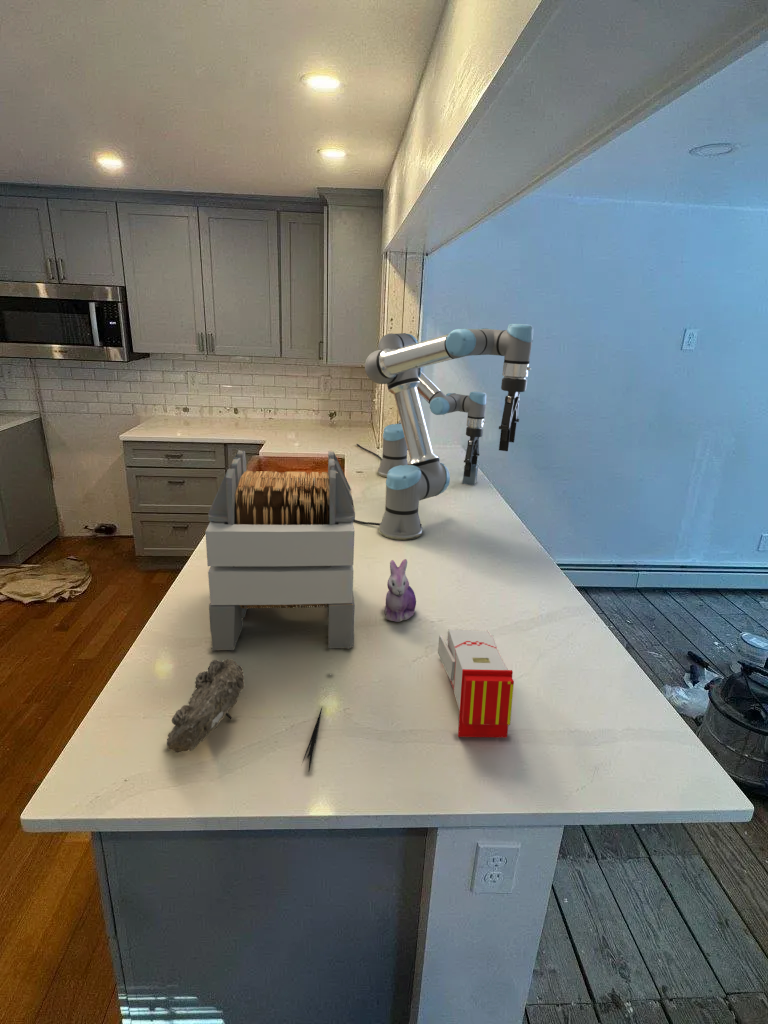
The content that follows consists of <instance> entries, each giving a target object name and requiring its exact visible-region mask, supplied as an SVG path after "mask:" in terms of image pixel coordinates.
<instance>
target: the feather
mask: <svg viewBox="0 0 768 1024" xmlns="http://www.w3.org/2000/svg"><path fill="white" fill-rule="evenodd" d="M329 675H330V676H331V675H332V674H331V673H330V674H329ZM322 710H323V707H321V708H320V710H319V713H318V716H317V719H316V723H315V725H314V728H313V731H312V733H311V737H310V739H309V742H308V745H307V748H306V751H305V754H304V757H303V760H302V763H301V767H302V765H303V763H304V761H305V758H308V759H309V760H308V762H307V763H308V764H307V766H308V771H310V770H311V766H312V765H311V764H312V760H313V757H315V756H314V755H315V751H316V749H315V746H317V739H318V733H319V729H320V722H321V717H322V712H323V711H322ZM313 754H314V755H313ZM306 755H307V757H306Z"/></svg>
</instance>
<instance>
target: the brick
mask: <svg viewBox="0 0 768 1024" xmlns="http://www.w3.org/2000/svg"><path fill="white" fill-rule="evenodd" d="M464 471H465V465H463V472H464ZM478 474H479V464H477V465H476V464H472V465H471V474H470V477H466V476H464V473H463V474H462V475H463V476H462V485H469V486H475V485H477V482H478V480H477V479H478Z"/></svg>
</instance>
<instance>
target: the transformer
mask: <svg viewBox="0 0 768 1024" xmlns="http://www.w3.org/2000/svg"><path fill="white" fill-rule="evenodd" d="M327 456H328V457H327V462H328V463H327V471H322V472H321V473H320V472H319V471H311V472H307V471H284V472H283V471H281V472H278V471H271V470H269V471H267V470H265V471H262V470H261V471H259V470H258V471H257V470H256V471H253V470H247V458H246V450H240V449H238V450H237V452H236V454H235V456H234V457H233V459H232V462H231V464H230V466H229V468H227V470H226V472H225V474H224V477H223V479H222V480H221V483H220V486H219V487H218V490H217V491H216V495H215V496H214V499H213V501H212V503H211V504H210V505H211V506H210V508H209V510H208V513H207V517H208V522H209V523H208V525H207V527H206V529H205V533H204V534H205V548H206V558H207V559H206V563H207V567H209V569H208V571H207V574H208V575H207V577H208V589H209V604H208V615H209V630H210V634H211V647H210V649H211V651H212V652H214V651H215V652H218V651H234V649H235V647H236V645H237V643H238V641H239V638H240V635H241V633H242V630H243V619H245V618H246V614H247V609H249V610H250V609H273V608H274V609H276V608H277V609H280V608H281V609H293V608H294V609H296V608H298V609H302V608H309V609H310V608H315V609H316V608H327V637H328V638H327V639H328V640H327V641H328V649H349V650H350V649H352V648H353V647H354V646H355V645H354V643H355V607H356V606H355V597H354V559H355V558H354V555H355V526H354V525H355V524H354V522H353V521H354V520H356V511H355V505H354V499H353V493H352V487H351V486H350V484H349V481H348V479H347V477H346V475H345V473H344V471H343V469H342V467H341V464H340V462H339V459H338V458H337V455H336V453H335V452H334V451H330V450H329V451H327Z"/></svg>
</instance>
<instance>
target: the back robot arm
mask: <svg viewBox="0 0 768 1024" xmlns="http://www.w3.org/2000/svg"><path fill="white" fill-rule="evenodd" d="M416 343H419V341H418V339H417V338H416V337H415V336H414V335H413V334H411V333H406V332H402V333H386V334H384V335H383V336H382V337H381V339H379V342H378V344H377V345H378V346H377V350H383V349H387V348H388V349H392V350H393V349H398V348H402V347H405V346H409V345H412V344H416ZM419 381H420V384H419V385H418V387H417V391H418V395H419V396H421V397H422V398H423V399H424V400H425V401H426V402H427V403H428V404H429V409H430V411H431V413H432V414H433V415H436V416H444V415H447V414H451V413H455V412H460V413H467V417H466V428H465V435H466V436H467V437H469V439H468V440H467V445H466V450H465V451H466V452H465V457H464V459H463V463H464V466H465V471H464V470H463V474H464V476H466V477H470V474H471V465H472V464H476V465H478V457H479V456H480V454H481V453H480V438H482V437H483V435H484V425H485V424H486V420H485V415H486V406H487V393H486V392H483V391H470V392H469V395H466V394H461V393H460V394H459V393H455V392H448V393H446V394H444V392H443V391H442V390H441V389H439V387H438V386H437V385H436V384H435V383H434V382H433V381H431V379H430V378H429V377H428V376H427V375H426V374H425V373H424V372H423V371H422V372H421V376H420V377H419ZM397 422H398V423H392V424H391V423H390V424H388V425H386V426H385V427H384V428H383V433H382V455H381V456H380V455H379V454H377V453H375V452H374V451H371V450H368V449H367V448H365V447H363V446H362V445H360V444H359V443H356V446H357V447H359V448H360V449H361V450H364V451H365V452H368V453H370V454H372V455H374V456H376V457H377V458H378V459H379V460H380V463H379V466H378V469H377V475H379V476H380V477H382V478H386V479H387V473H388V471H389V470H390V469H391V468H393V467H396V466H399V465H403V466H404V465H408V463H409V462H408V448H407V444H406V440H405V436H404V432H403V428H402V424H401V420H400V419H399V420H398V421H397Z"/></svg>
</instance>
